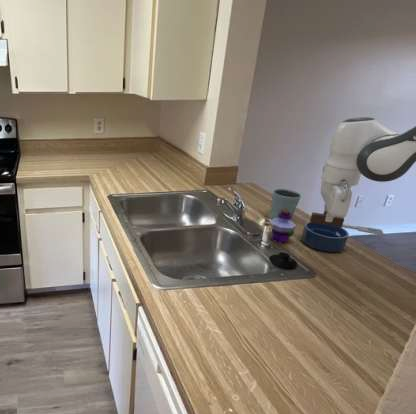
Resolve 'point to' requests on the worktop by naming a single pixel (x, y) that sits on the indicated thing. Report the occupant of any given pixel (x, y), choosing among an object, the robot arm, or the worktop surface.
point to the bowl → (324, 237)
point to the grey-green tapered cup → (283, 202)
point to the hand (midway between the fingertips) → (327, 218)
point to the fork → (341, 224)
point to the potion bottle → (282, 226)
